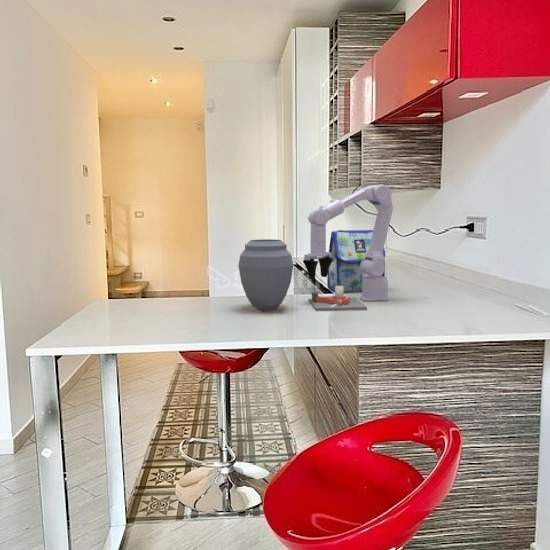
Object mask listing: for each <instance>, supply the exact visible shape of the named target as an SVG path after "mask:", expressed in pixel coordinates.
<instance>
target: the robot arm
mask: <svg viewBox="0 0 550 550" xmlns="http://www.w3.org/2000/svg"><path fill="white" fill-rule="evenodd" d="M361 201H368V202H369V203H370V204H372V205H373V206H374V208H375V210H377V213H376V217H375V221H374V225H373V229H372V230H373V234H372V238H371V243H370V247H369V251H368V252H367V253H366V254H365V256H364V259H363V261H362V262H361V264H360V270H361V271H362V273H363V284H362V291H361V293H362V295H361V296H359V297H358V298H359V299H361V300H362V301H364V302H371V301H372V302H373V301H374V302H375V301H376V302H377V301H380V302H381V301H389V299H388V298H389V295H388V294H389V288H388V287H389V282H388V278H387V277H386V276H385V277H381V275H382V274H383V273H384V270H385V271H386V266H385V267H384V260H386V259H385V258H384V256H383V254H382V253H383V249H384V250H385V245H386V240H387V235H388V232H389V231H388V230H389V228H390V223H391V219H392V214H393V210H394V206H393V202H392V191H391V190H390V188H389V187H388V185H386V184H383V183H382V184H381V183H380V184H369V185H368V186H366V187H362V188H360V189H358V190H357V191H355V192H353V193H352V194H350V195H348V196H346V197H345V198H342V199H340V200H339V199H337V198H336V199H331V200H329V202H328V203H327V204H324V205H320V206H318V207H319V208H318V209H313V210H311V211H310V213H309V215H308V217H307V220H308V222H309V223H310V252H308V253H307V254H304V257H303V258H304V259H302V262H303V264H304V266H305V268H306V271H307V275H308V278H309V280H315V279H316V274H317V266H318V264H319V267H320V276H321V277H322V278H327V273H328V270H329V267H330V264H331V262H332V261H333V258H329V257H331V252H329V251H327V242H326V241H327V225H326V224H327V223H328V222H329V221H331V220H332V219H335V218H336V217H338V216H340V215H342V214H344V212H345V209H346V208H348V207H350V206H353V205H354V204H356V203H359V202H361Z"/></svg>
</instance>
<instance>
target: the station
mask: <svg viewBox="0 0 550 550" xmlns="http://www.w3.org/2000/svg"><path fill="white" fill-rule="evenodd" d="M334 296H335V299H343V296H344V292H343V286H335V291H334ZM308 302H309V304H310V306H312V308H313V310H315V312H329V311H332V312H333V311H336V312H337V311H367V310H368V307H367V306H366V305H365V304H364V303H362V302H361V301H360V300H358V298H355V297H350V301H349V302H348V304H342V306H337V304H332V303H328V302H312V298H308Z"/></svg>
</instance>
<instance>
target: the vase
mask: <svg viewBox="0 0 550 550" xmlns="http://www.w3.org/2000/svg"><path fill="white" fill-rule="evenodd" d="M287 246H288V245H287V243H285V242H284V241H282V240H281V239H250V240H249V241H248V242H246V243H245V244H244V250H243V251H242V252H241V254H240V255H239V261H238V271H239V277H240V283H241V285H242V289H243V292H244V293H245V296H246V297H247V299H248V301H249V303H250V304H251V306H252V307H253V308H254V309H256V310H258V311H274V310H277V309H279V307H280V306H281V305H282V304H283V301H284V300H285V298H286V297H287V294H288V291H289V288H290V285H291V282H292V278H293V276H292V275H293V271H294V262H293V257H292V254H291V252H290V251H289V250H288V249H287ZM273 309H274V310H273Z"/></svg>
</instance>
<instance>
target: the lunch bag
mask: <svg viewBox="0 0 550 550" xmlns="http://www.w3.org/2000/svg"><path fill="white" fill-rule="evenodd" d="M373 230H374V229H365V230H363V229H360V230H359V229H357V230H355V229H354V230H346V229H345V230H342V229H340V230H339V229H338V230H335V231H331V233H330V240H329V246H328V247H329V249H328V252H331V257H329V258H333V261H332V262H331V264H330V267H329V270H328V273H327V277H326V278H327V282H326V284H327V289H329V290H333V291H334V292H335V286H343V293H350V292H352V293H353V292H354V293H357V292H362V284H363V273H362V271H361V270H360V264H361V262H362V261H363V259H364V256H365V254H366V253H367V252H368V251H369V247H370V243H371V238H372V234H373ZM382 254H383V256H384V259H385V257H386V249H385V248H384V249H383V253H382ZM385 260H386V259H385ZM385 260H384V267H385V268H386V261H385ZM385 275H386V269H385V270H384V273H383V274H382V275H381V277H386V276H385Z"/></svg>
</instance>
